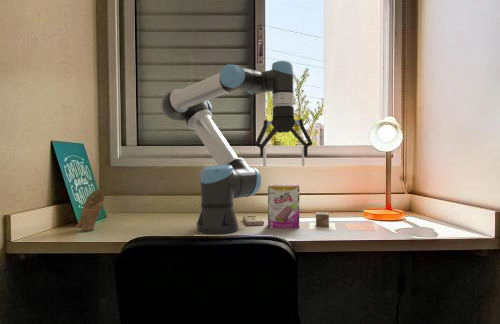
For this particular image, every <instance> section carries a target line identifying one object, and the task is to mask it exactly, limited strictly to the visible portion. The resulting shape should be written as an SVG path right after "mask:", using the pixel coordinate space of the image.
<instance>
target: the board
mask: <svg viewBox="0 0 500 324" xmlns="http://www.w3.org/2000/svg"><path fill="white" fill-rule="evenodd" d="M345 226H346V229H347V231H357V232H358V231H361V232H362V231H365V232H367V231H369V232H370V231H371V232H376V231H377V230H376V229H375V228H374V226H373V225H372V223H349V222H348V223H345ZM308 229H309V230H324V231H325V230H327V231H329V230H330V231H331V230H333V231H336V230H337V228H336V223H335V222H329V227H316V222H309V226H308Z"/></svg>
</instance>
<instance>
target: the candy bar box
mask: <svg viewBox="0 0 500 324" xmlns="http://www.w3.org/2000/svg"><path fill="white" fill-rule="evenodd" d="M267 209H268V210H267V228H270V229H280V228H281V229H299V228H300V185H299V184H268V186H267Z"/></svg>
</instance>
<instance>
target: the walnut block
mask: <svg viewBox="0 0 500 324" xmlns="http://www.w3.org/2000/svg"><path fill="white" fill-rule="evenodd" d="M315 223H316V227H329V223H330V213H329V212H322V211H320V212H319V211H318V212H317V211H316V212H315Z"/></svg>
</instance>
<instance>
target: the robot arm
mask: <svg viewBox="0 0 500 324" xmlns="http://www.w3.org/2000/svg"><path fill="white" fill-rule="evenodd" d="M294 76H295V74H294V64H293V63H292V62H291V61H288V60H279V61H274V62H273V63H272V64H271V69H270V70H269V69H268V70H264V71H259V70H255V69H251V68H248V67H245V66H241V65H238V64H231V63H230V64H229V63H228V64H225V65H224V66H223V67H222V68H221V70H220V72H219V73H217V74H215V75H212V76H210V77H207V78H205V79H203V80H201V81H198V82H196V83H193V84H191V85H189V86H187V87H184V88H182V89H181V88H175V89H172V90H171V91H168V92H167V93H165V94H164V96H162V98H161V102H160V107H161V111H162V113H163V114H164V116H166V117H167V118H168V119H169V120H174V121H182V122H185V124H186V125H187V127H188V128H189V129H190V130H193V131H195V133H196V134H197V136H198V137H199V139H200V141H201V142H202V143H203V145H204V147H205V149H207V151H208V153H209V154H210V156H211V158H212V159H213V160H214V162H215V164H216V165H211V166H206V167H204V168H202V170H201V171H200V178H199V179H200V207H201V208H200V211H199V214H198V215H199V216H198V219H197V222H196V232H198V233H200V232H202V234H207V233H210V234H211V235H214V234H215V235H219V234H220V235H221V234H230V233H234V232H237V231H238V230H239V223H238V218H237V216H236V215H237V214H236V213H235V210H234V199H241V198H249V197H252V196H254V195H256V194H257V193H258V192H259V190H260V188H261V186H262V184H261V183H262V176H261V173H260V171H259V170H258V169H257V168H256V167H254V166H249V164H248V163H247V162H246V160H245V159H244V158H242V157H238V155H237V153H236V152H235V151H234V149H233V148H232V147H231V145H230V144H229V143H228V141H227V139H226V137H224V135H223V134H222V132H221V130H219V128H218V127H217V125H216V123H215V122H214V121H213V119H212V118H213V109H212V108H213V106H212V104H211V101H210V100H212V99H215V98H218V97H220V96H223V95H226V94H229V93H231V92H234V91H235V92H236V91H237V90H243V91H245V92H247V93H248V94H249V95H259V94H264V93H268V92H269V93H270V92H271V93H272V106H273V107H272V120H267V119H265V120H263V126H262V128H261V130H260V133H259V135H258V136H257V139H256V140H255V143H254V146H255V147H258V148H259V156H260V157H261V158H262V160H263V161H262V162H263V165H262V167H267V147H266V146H267V144H269V142H270V141H271V139H272V138H273V137H274V136H275V135H276V133H279V134H281V133H286V134H287V133H290V132H291V133H292V134H293V136H294V137H295V138H296V139H297V140H298V142H300V144H301V145H302V147H301V167H304V166H305V157H308V155H309V154H308V148H309V147H310V146H313V141H312V139H311V137H310V135H309V134H308V132H307V129H306V128H305V127H304V119H302V118H300V119H296V120H295V110H294V109H295V108H294V104H295V95H294V93H295V92H294V79H295V78H294ZM295 125H297V126H298V127H300V130H301V132H302V134H303V135H304V137H305V139H306V141H307V143H306V141H305V140H304V139H302V137H301V135H299V134H298V133H297V131H296V130H295V129H294V127H295ZM270 126H272V127H273V128H272V130H271V131H270V132H269V134H268V135H267V136H266V137H265V139H264V140H263V138H264V136H265V135H266V132H267V130H268V128H269V127H270ZM262 140H263V141H262ZM261 142H262V143H261ZM210 234H209V235H210Z"/></svg>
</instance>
